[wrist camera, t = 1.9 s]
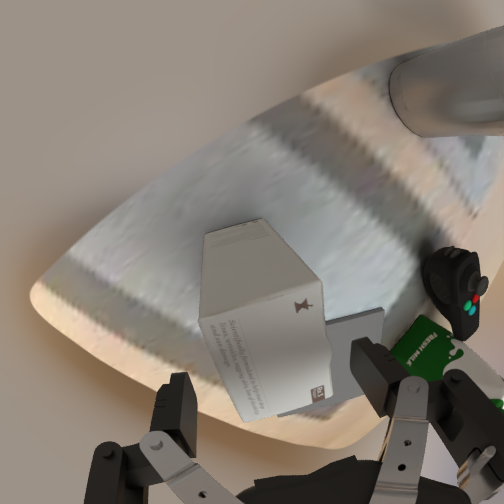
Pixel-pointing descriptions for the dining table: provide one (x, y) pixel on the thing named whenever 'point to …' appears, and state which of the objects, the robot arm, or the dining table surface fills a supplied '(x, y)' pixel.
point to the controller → (456, 288)
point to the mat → (346, 354)
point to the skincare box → (263, 321)
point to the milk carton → (445, 358)
